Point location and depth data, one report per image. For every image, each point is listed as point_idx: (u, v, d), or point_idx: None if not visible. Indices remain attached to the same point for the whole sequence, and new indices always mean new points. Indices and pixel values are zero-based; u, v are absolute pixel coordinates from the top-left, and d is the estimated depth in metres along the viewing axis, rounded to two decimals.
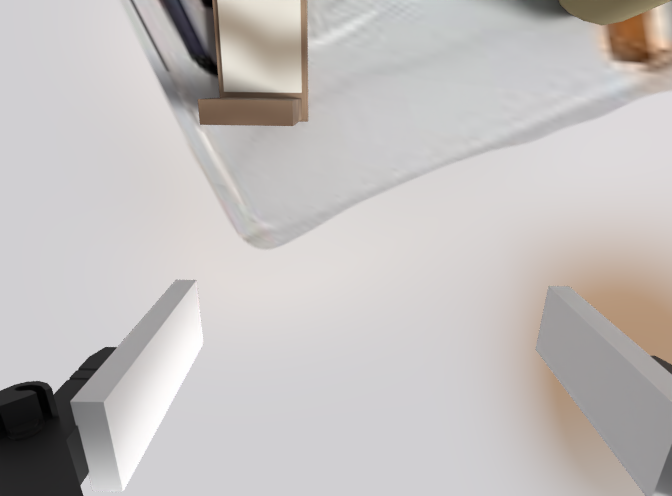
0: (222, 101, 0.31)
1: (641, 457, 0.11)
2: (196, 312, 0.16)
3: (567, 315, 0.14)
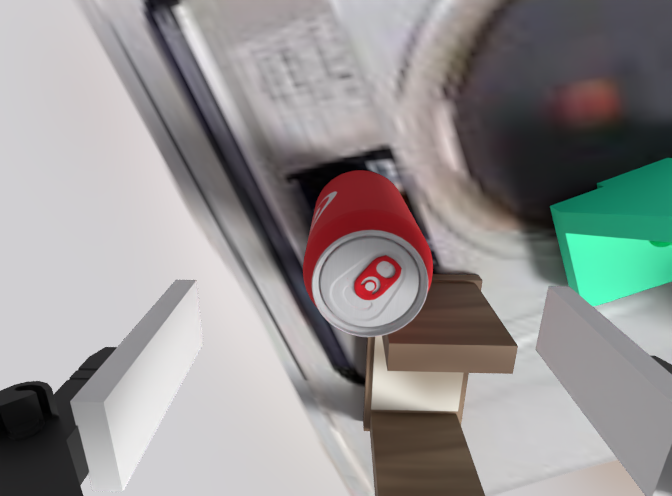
0: None
1: (641, 457, 0.11)
2: (196, 312, 0.16)
3: (566, 315, 0.14)
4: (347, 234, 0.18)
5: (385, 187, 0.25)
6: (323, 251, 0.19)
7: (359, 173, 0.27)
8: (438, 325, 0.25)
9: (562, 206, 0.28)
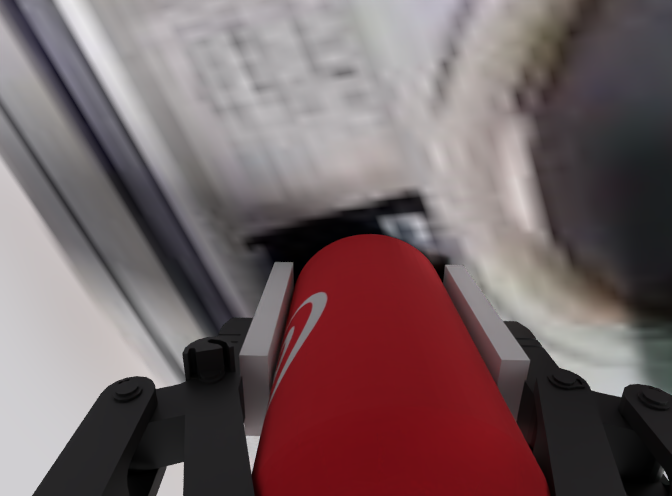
0: None
1: None
2: None
3: (453, 289, 0.16)
4: None
5: (420, 283, 0.13)
6: None
7: (368, 243, 0.15)
8: None
9: None
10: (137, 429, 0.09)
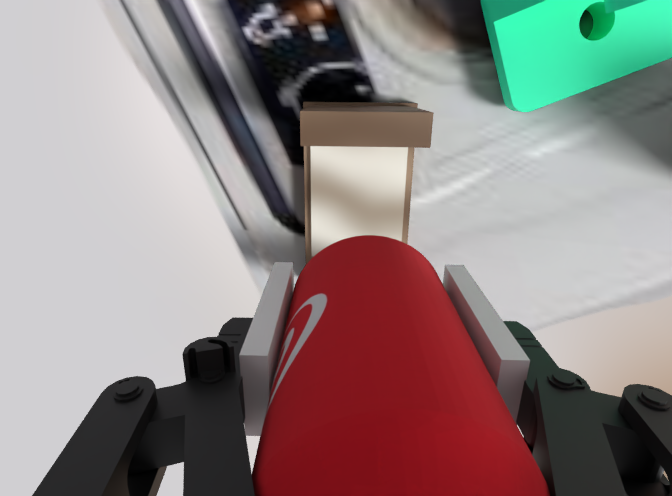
0: None
1: None
2: None
3: (452, 289, 0.16)
4: None
5: (420, 285, 0.13)
6: None
7: (368, 245, 0.15)
8: None
9: None
10: (137, 429, 0.09)
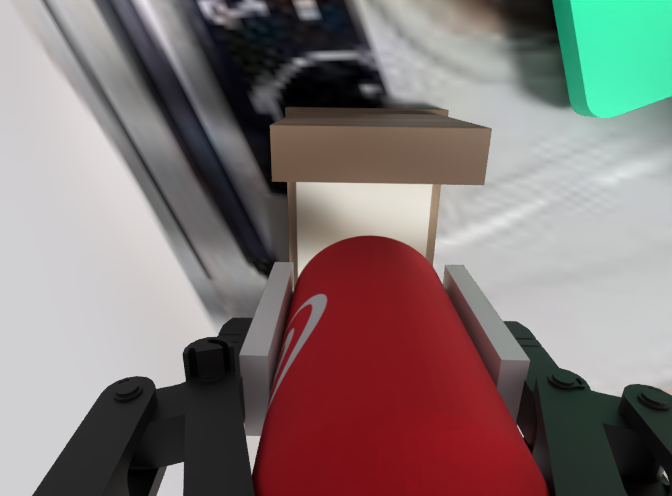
0: None
1: None
2: (293, 291, 0.17)
3: (453, 289, 0.16)
4: None
5: (420, 285, 0.13)
6: None
7: (368, 245, 0.15)
8: (364, 122, 0.15)
9: None
10: (137, 429, 0.09)
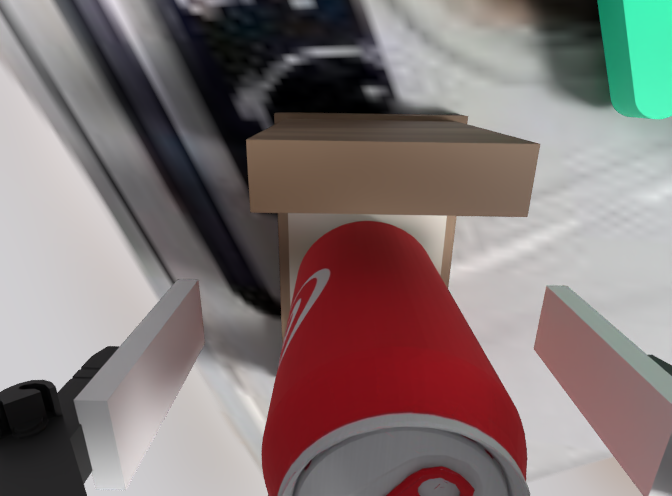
0: None
1: (638, 456, 0.11)
2: (198, 311, 0.16)
3: (564, 315, 0.14)
4: (353, 421, 0.08)
5: (413, 260, 0.14)
6: (299, 454, 0.08)
7: (366, 228, 0.17)
8: (370, 133, 0.12)
9: None
10: None
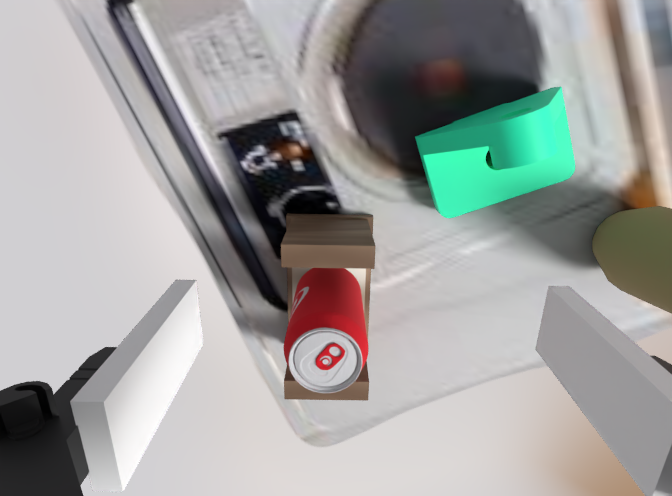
0: None
1: (641, 457, 0.11)
2: (196, 312, 0.16)
3: (567, 315, 0.14)
4: (310, 330, 0.29)
5: (342, 283, 0.36)
6: (295, 340, 0.29)
7: (327, 268, 0.38)
8: (323, 237, 0.33)
9: (421, 135, 0.36)
10: None
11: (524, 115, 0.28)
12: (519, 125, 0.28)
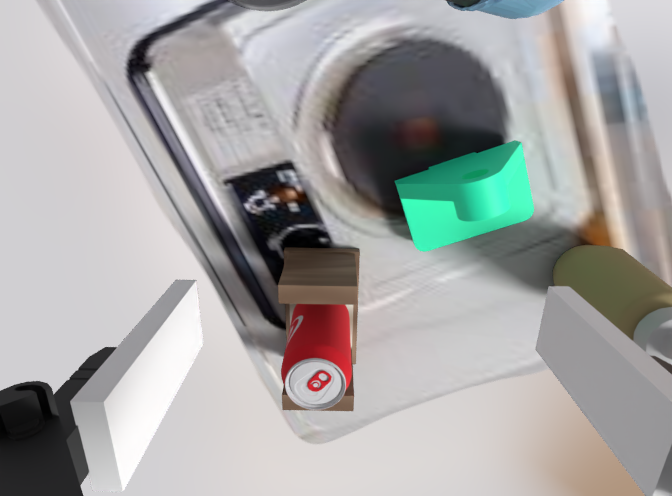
0: None
1: (641, 457, 0.11)
2: (196, 312, 0.16)
3: (566, 315, 0.14)
4: (303, 360, 0.35)
5: (332, 313, 0.42)
6: (290, 367, 0.36)
7: None
8: (314, 276, 0.39)
9: (399, 181, 0.41)
10: None
11: (480, 180, 0.33)
12: (476, 188, 0.33)
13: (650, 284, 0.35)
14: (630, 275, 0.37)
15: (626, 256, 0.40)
